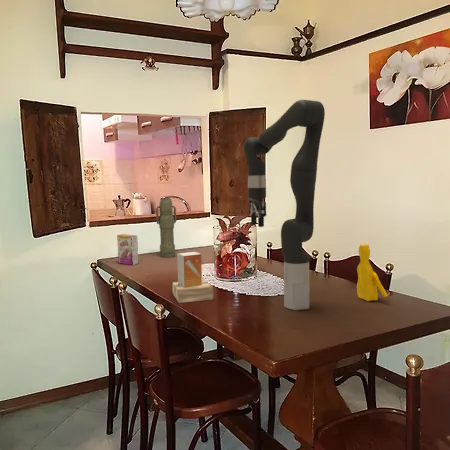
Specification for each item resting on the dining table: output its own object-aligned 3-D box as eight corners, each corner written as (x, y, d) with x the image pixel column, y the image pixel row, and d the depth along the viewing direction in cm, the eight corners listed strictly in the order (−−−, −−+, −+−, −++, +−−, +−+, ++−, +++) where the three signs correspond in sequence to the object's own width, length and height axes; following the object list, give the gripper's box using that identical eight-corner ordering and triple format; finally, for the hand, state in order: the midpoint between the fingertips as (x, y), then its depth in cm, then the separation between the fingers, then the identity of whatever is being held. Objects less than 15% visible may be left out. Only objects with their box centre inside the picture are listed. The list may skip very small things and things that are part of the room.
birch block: (213, 299, 185) (213, 287, 184) (178, 302, 181) (178, 290, 180) (204, 290, 198) (204, 279, 197) (172, 293, 194) (172, 282, 194)
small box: (184, 288, 184) (183, 255, 182) (177, 284, 189) (176, 253, 188) (202, 285, 188) (201, 253, 186) (195, 281, 193) (194, 251, 192)
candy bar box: (117, 263, 258) (116, 234, 256) (124, 262, 263) (123, 233, 261) (132, 265, 252) (131, 236, 250) (138, 264, 257) (137, 234, 255)
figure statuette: (391, 304, 174) (393, 246, 171) (375, 306, 171) (376, 248, 168) (360, 292, 190) (361, 240, 188) (345, 295, 187) (345, 241, 185)
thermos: (179, 256, 276) (177, 198, 272) (161, 258, 271) (158, 199, 267) (174, 254, 284) (172, 197, 280) (156, 256, 279) (153, 198, 274)
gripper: (272, 186, 184) (272, 227, 186) (259, 185, 198) (259, 223, 200) (254, 187, 182) (254, 228, 184) (242, 186, 196) (243, 224, 198)
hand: (257, 225), depth 192 cm, fingers open, 8 cm apart
